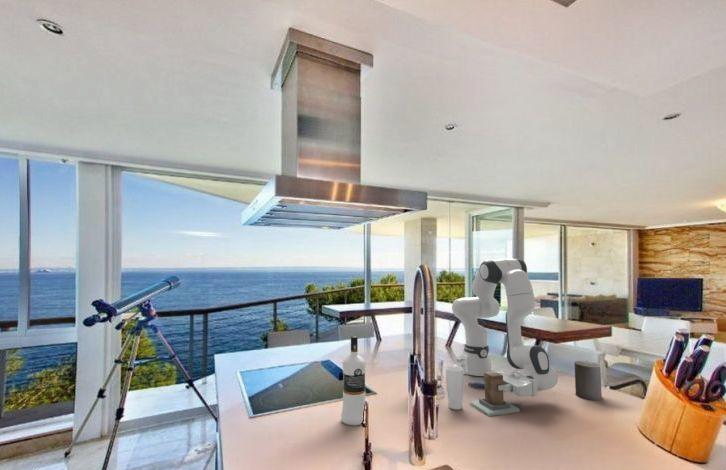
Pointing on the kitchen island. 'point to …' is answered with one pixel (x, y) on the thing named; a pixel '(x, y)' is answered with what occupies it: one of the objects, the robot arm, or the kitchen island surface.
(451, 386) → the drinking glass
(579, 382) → the pillar candle
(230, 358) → the kitchen island surface
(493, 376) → the walnut pillar
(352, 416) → the vodka
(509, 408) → the grey flat square tray
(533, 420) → the kitchen island surface
